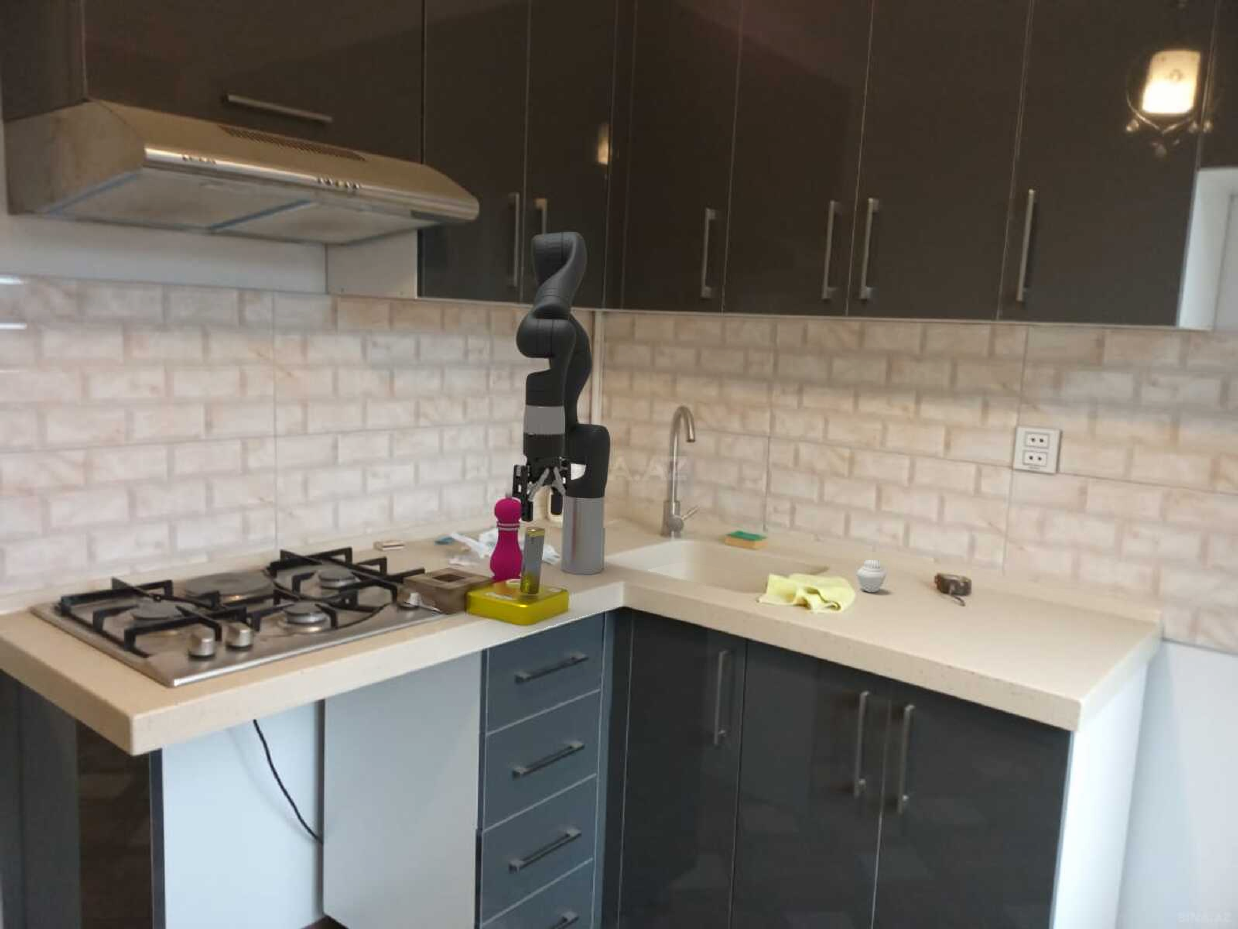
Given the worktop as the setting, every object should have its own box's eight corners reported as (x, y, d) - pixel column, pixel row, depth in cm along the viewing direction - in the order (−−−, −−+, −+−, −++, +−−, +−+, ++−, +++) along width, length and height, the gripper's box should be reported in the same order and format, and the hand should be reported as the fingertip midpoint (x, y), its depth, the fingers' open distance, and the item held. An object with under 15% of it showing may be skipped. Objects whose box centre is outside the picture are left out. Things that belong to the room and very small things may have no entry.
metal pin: (527, 587, 179) (533, 525, 177) (542, 591, 177) (549, 529, 175) (515, 590, 176) (521, 528, 173) (530, 595, 174) (537, 532, 172)
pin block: (448, 591, 190) (448, 567, 189) (492, 603, 183) (493, 577, 183) (403, 603, 180) (403, 578, 179) (448, 616, 173) (448, 589, 173)
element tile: (461, 615, 176) (461, 590, 175) (510, 598, 189) (511, 575, 188) (525, 630, 168) (526, 604, 168) (572, 612, 181) (573, 588, 180)
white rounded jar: (879, 587, 210) (881, 556, 209) (888, 594, 203) (891, 562, 203) (851, 586, 209) (854, 555, 208) (860, 593, 203) (863, 562, 202)
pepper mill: (482, 586, 195) (484, 490, 193) (502, 579, 202) (504, 487, 199) (511, 591, 192) (514, 494, 190) (530, 584, 198) (533, 490, 196)
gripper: (552, 426, 179) (549, 510, 181) (502, 430, 167) (500, 520, 170) (583, 429, 175) (581, 515, 177) (535, 434, 163) (532, 526, 165)
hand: (541, 517), depth 173 cm, fingers open, 8 cm apart
